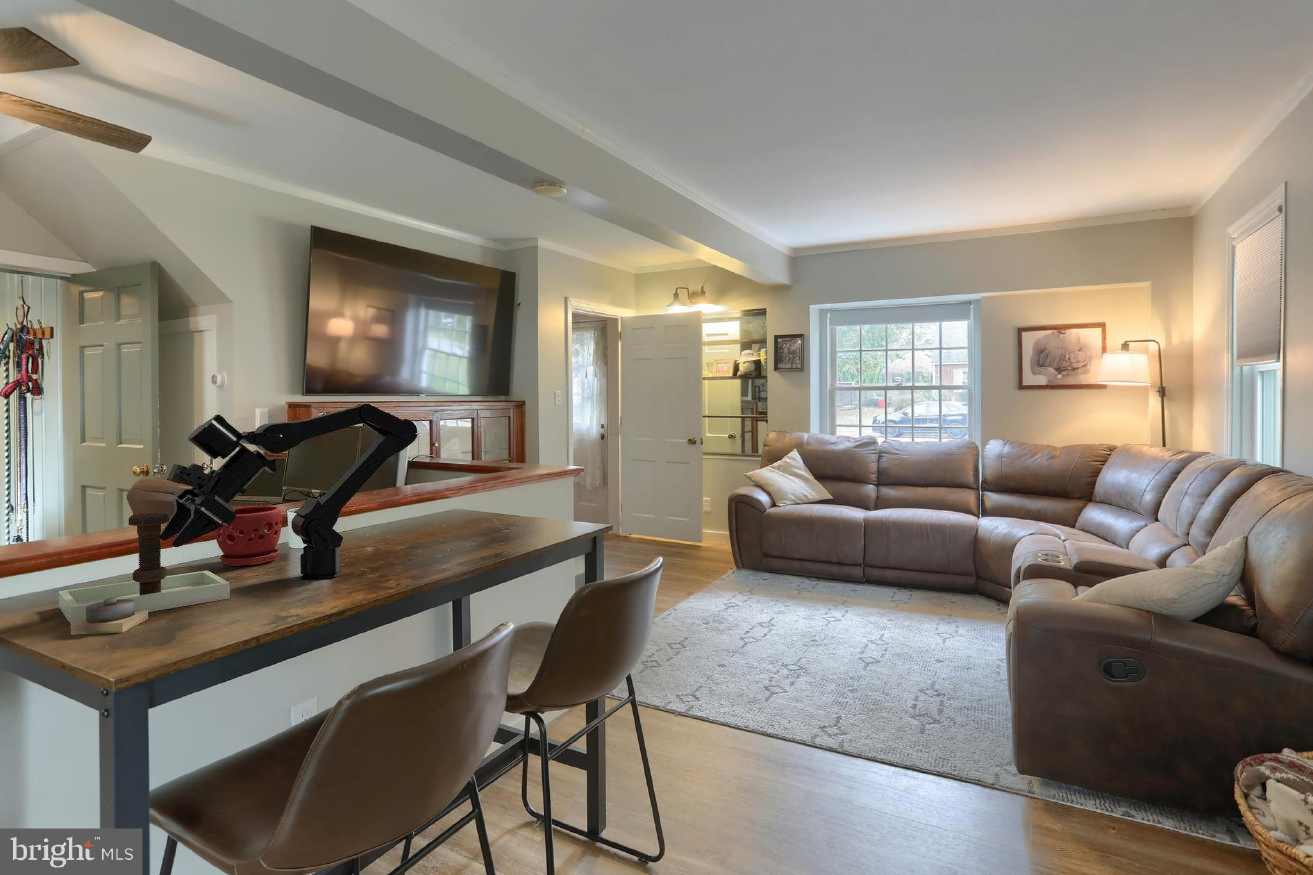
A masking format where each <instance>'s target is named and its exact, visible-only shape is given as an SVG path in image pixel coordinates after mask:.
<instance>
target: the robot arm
mask: <svg viewBox="0 0 1313 875" xmlns="http://www.w3.org/2000/svg"><path fill="white" fill-rule="evenodd" d="M361 424H363V425H365V426H367V427H368V428H369V429H371V430H373V431H374V432H376V434H375V436H374V438H373V440H372V443H371V445H370V447H369V448H368V449H367V450H366V451H365V452H364V453H363V454H362V455H361V456H360V457H359V459H358V460H356V461H355V463H354V464H353V465H352V466H351V467H350V468H349V469H348V470H347V471H346V472H345V473H344V474H343V475H342V477H341V478H339V479H338V480H337V481H336V482H335V484H334V485H333V486H332V487H331V488H330V489H329V490H328V491H327V492H326V493H325V494H324V495H323V496H321V497H319V498H318V499H315V498H313V497H308V498H307V499H306V500H305V501H304V502H303V504H302V505H301V507H299V508H297V509H296V510H294V511H293V514H295V515H294V516H293V518H292V519H291V530H292V532H293V533H294V535H295V536H297V537H299V538H300V539H301V541H302V543H303V545H304V547H303V548H302V553H300V556H299V558H300V559H299V560H300V562H299V563H300V564H299V565H300V575H301V576H300V580H305V579H307V580H309V579H310V580H311V579H333V578H336V577H337V576H339V575H340V574H341V573H342V572H343V568H341V557H340V556H341V549H340V547H341V546H342V543H343V540H344V536H342V535H341V534H340V533H339V532H338V531H337V530H335V529H334V527H335V525H337V522H338V520H339V517H340V514H342V513H341V512H342V510H343V509H344V507H345V506H346V505H347V504H348V503H349V502H350V501H351V499H352V498H353V497H354V496H355V495H356V494H357V493H358V492H359V491H360V490H361V489H362V488H363V487H364V486H365V484H366V483H367V482H368V481H369V480H371V478H372V477H373V476H374V475H375V474H376V473H377V472H378V471H379V470H380V468H381V467H382V466H384V464H385V463H386V462H387V461H388V460H389V459H390V458H392V457H394V456H395V455H397V454H399V453H401V452H402V451H404V450H405V449H406V448H408V447H409V446H410V445H411V444H413V443H414V442H415V441H416V439H417V438H418V434H419V433H418V427H417V425H416V424H415V422H414V421H412V420H411V419H407V418H399V417H398V416H395V415H394V414H392V413H389V412H387V411H384V410H382V409H380V408H378V407H376V406H375V405H374V404H372V403H370V402H369V403H368V402H367V403H366V402H365V403H358V404H356V405H353V406H352V407H347V408H343V409H339V410H336V411H333V412H332V411H331V412H329V413H324V414H321V415H317V416H313V417H310V418H306V419H303V420H292V421H291V420H290V421H280V422H271V423H270V422H269V423H263V424H261V425H259V426H258V427H256V428H255V430H252V431H242V432H241V431H239V430H238V429H237V428H235V426H233V425H232V424H230V423H229V422H228V421H227V419H225V417H224V416H222V415H221V414H214V416H213V417H211V418H209V419H208V420H207V421H205V422H204V423H203V424H201V425H198V426H197V427H196V428H195V429H194V430H193V431H192V432H191V434H189V436H188V437H187V439H186V440H187V441H188V442H190V443H191V444H192V445H194V446H195V447H196V448H197V449H199V450H200V451H202V452H203V453H204V454H206V455H207V457H209V458H211V460H216V459H218V458H221V459H222V460H224V459H226V458H228V457H229V456H230V455H231V454H232V453H233V454H232V455H231V456H230V457H229V458H228V459H226V461H225V462H224V463H223V464H222V465H220V467H219V468H217V469H210V470H209V471H208V472H207V473H206V472H205V469H204V468H205V467H204V466H202V465H200V464H196V463H194V462H193V463H191V464H189V465H188V466H185V465H182V464H179V463H178V464H177V463H173V466H171V469H170V471H169V473H168V475H167V478H166V479H165V480H166V481H169V482H173V483H176V484H180V485H181V484H183V485H186V486H188V487H183V488H182V487H180V488H179V489H178V491H176V492H175V493H174V494H173V499H172V502H173V507H174V511H173V513H172V514H171V516H170V518H169V522H166V523H165V526H164V527H163V529H162V530H161V532H160V541H161V540H162V541H166V540H168V539H170V538H173V537H174V536H175V537H174V539H173V540H172V542H171V545H172V546H173V547H174V548H179V547H182V546H183V545H185V544H187V543H190V542H192V541H194V540H196V539H197V540H198V538H200V537H203V536H205V535H208V534H210V533H213V532H214V531H215V530H217V529H219V528H223V527H224V526H223V525H222V524H220V523H221V522H222V523H223V524H225V525H228V526H229V525H230V523H231V522H232V521H233V520H234V519H235V518H236V510H235V509H233V508H234V507H232V506H231V505H230V504H231V503H232V502H233V501H234V500H235V498H237V497H238V496H239V495H244V494H245V493H246V492H247V489H245V488H246V487H248V485H249V484H250V483H252V482H253V481H254V479H256V477H258V475H260V473H261V472H262V471H263V470H265V471H267V472H268V473H271V474H272V473H273V474H276V473H277V472H278V469H277V459H276V458H268V457H267V456H266V455H264V454H263V452H265V453H271V454H277V455H278V454H281V453H285V452H288V451H289V450H291V449H293V448H296V447H297V446H300V445H301V444H302V443H304V442H306V441H308V440H310V439H312V438H315V437H318V436H319V437H320V436H322V435H325V434H329V433H333V432H335V431H339V430H343V429H346V428H350V427H353V426H356V425H361ZM244 444H245V445H244ZM246 445H250V446H255V447H256V448H257V449H255V450H253V451H252V450H251V449H250V448H248V447H247V446H246ZM261 451H262V452H261Z"/></svg>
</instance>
